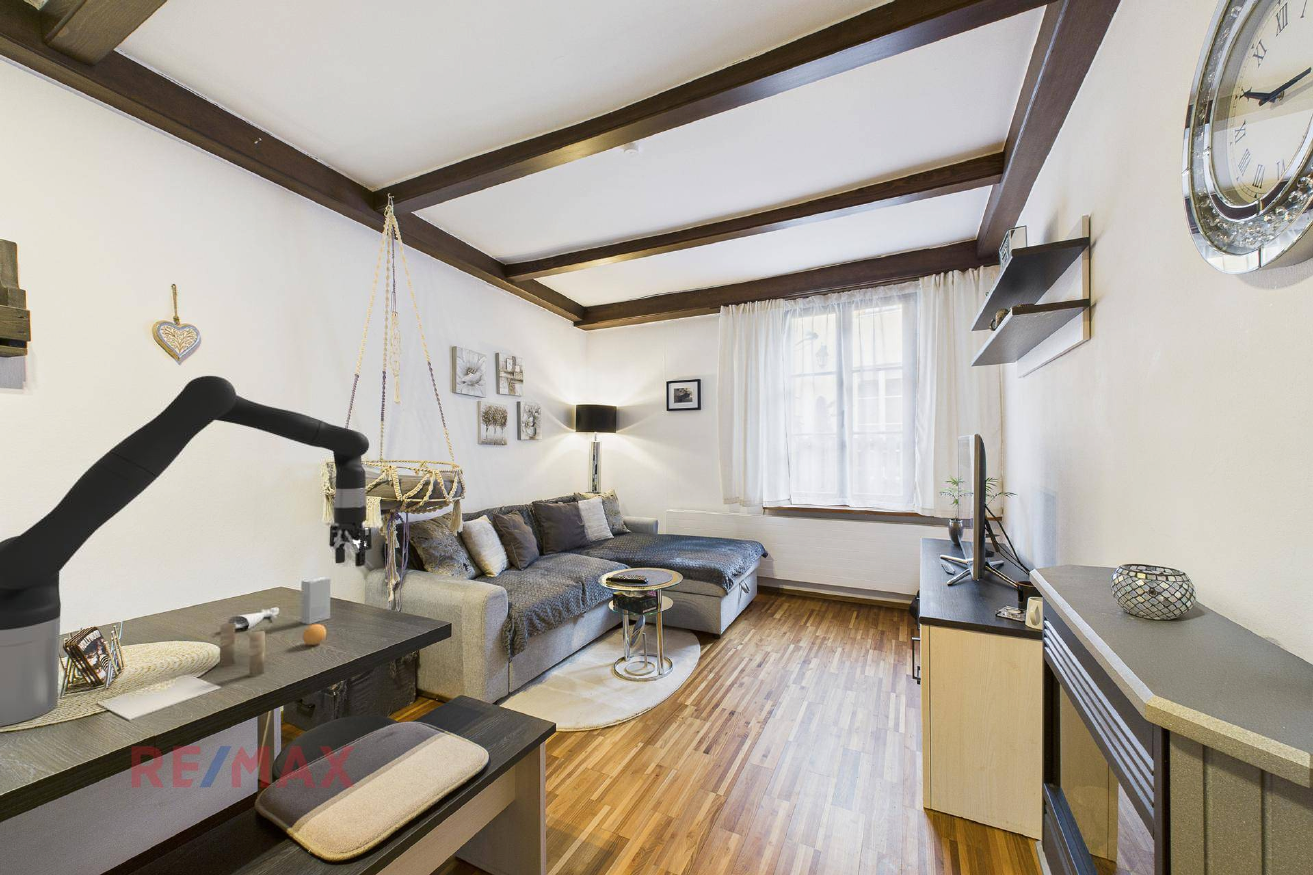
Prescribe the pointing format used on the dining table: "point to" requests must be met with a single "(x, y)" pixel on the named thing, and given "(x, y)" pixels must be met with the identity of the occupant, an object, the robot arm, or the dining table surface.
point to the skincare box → (315, 600)
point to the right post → (257, 653)
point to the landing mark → (158, 697)
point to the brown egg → (314, 634)
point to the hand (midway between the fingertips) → (350, 564)
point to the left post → (227, 644)
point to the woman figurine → (252, 618)
